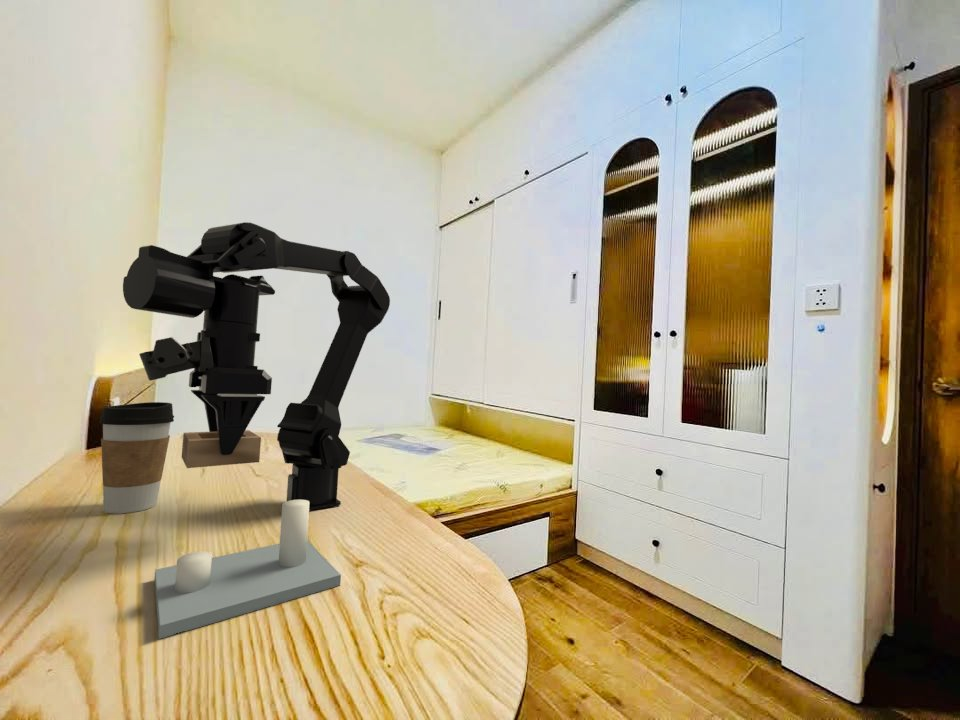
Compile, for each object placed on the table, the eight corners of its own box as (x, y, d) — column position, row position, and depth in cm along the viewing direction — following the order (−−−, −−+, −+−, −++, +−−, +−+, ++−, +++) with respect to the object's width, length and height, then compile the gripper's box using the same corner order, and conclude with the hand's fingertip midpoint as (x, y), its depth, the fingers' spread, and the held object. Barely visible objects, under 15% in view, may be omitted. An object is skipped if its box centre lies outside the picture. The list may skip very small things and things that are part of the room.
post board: (304, 546, 48) (308, 487, 48) (340, 585, 40) (344, 512, 40) (154, 580, 39) (160, 506, 39) (159, 639, 31) (166, 545, 31)
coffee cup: (180, 503, 61) (188, 404, 62) (115, 520, 53) (125, 406, 54) (143, 495, 64) (151, 400, 65) (76, 511, 56) (86, 403, 57)
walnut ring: (247, 452, 55) (248, 430, 55) (259, 462, 49) (261, 437, 50) (181, 456, 50) (183, 432, 50) (186, 468, 45) (189, 441, 45)
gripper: (146, 321, 53) (135, 442, 52) (150, 305, 38) (135, 472, 38) (244, 331, 60) (235, 437, 59) (277, 321, 46) (267, 460, 45)
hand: (221, 449), depth 50 cm, fingers closed on walnut ring, 7 cm apart
